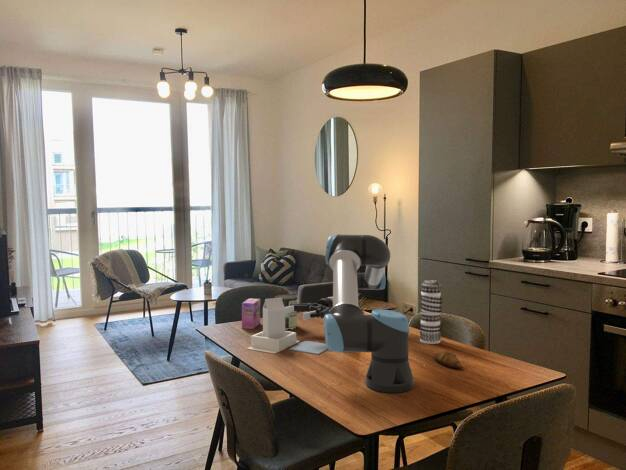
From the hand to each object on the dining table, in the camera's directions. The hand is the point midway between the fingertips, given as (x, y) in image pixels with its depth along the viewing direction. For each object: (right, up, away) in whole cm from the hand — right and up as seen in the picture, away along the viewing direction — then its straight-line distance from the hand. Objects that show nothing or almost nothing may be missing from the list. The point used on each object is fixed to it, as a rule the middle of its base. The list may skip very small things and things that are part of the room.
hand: (292, 313), depth 217 cm
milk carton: (-7, -12, -6) cm, 15 cm away
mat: (+8, -12, -10) cm, 17 cm away
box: (-20, -10, +25) cm, 33 cm away
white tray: (-7, -12, -6) cm, 15 cm away
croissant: (+56, -14, -29) cm, 65 cm away
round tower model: (+57, -11, 0) cm, 58 cm away
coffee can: (-4, -10, +23) cm, 25 cm away
